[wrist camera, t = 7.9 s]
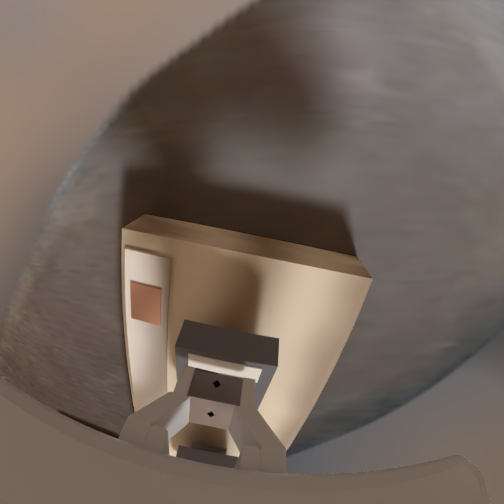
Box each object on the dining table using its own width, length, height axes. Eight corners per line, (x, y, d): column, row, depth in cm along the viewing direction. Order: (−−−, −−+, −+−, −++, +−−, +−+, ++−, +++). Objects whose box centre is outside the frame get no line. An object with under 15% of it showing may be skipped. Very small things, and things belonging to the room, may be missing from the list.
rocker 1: (279, 338, 13) (277, 368, 11) (252, 403, 17) (250, 425, 15) (184, 319, 13) (174, 347, 11) (185, 389, 16) (179, 411, 15)
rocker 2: (238, 456, 17) (235, 476, 16) (228, 469, 21) (226, 484, 20) (178, 444, 17) (174, 463, 15) (182, 460, 21) (179, 475, 20)
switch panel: (357, 256, 16) (378, 287, 13) (266, 459, 26) (265, 488, 22) (144, 214, 16) (112, 234, 13) (151, 436, 25) (142, 464, 22)
